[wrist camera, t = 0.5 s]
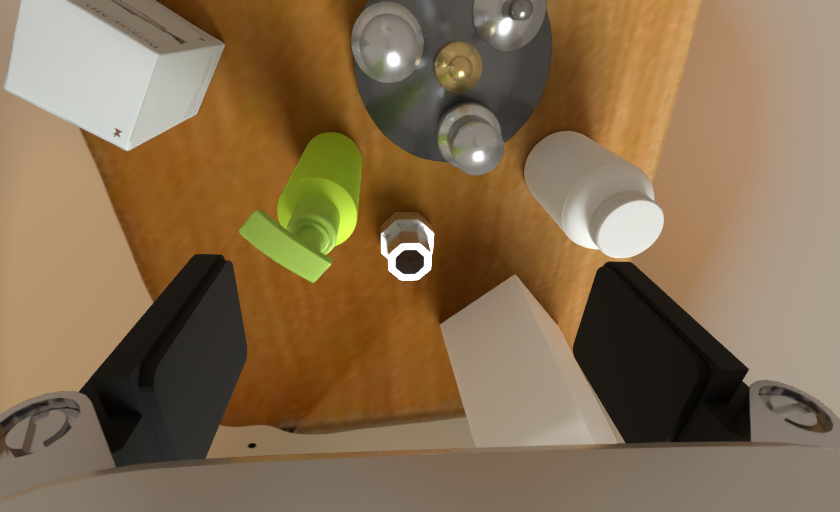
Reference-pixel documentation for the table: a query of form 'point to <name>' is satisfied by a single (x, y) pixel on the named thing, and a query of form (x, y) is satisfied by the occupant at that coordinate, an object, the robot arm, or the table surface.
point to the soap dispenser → (312, 208)
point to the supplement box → (111, 65)
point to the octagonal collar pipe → (407, 245)
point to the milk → (520, 374)
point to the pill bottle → (594, 194)
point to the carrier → (452, 74)
